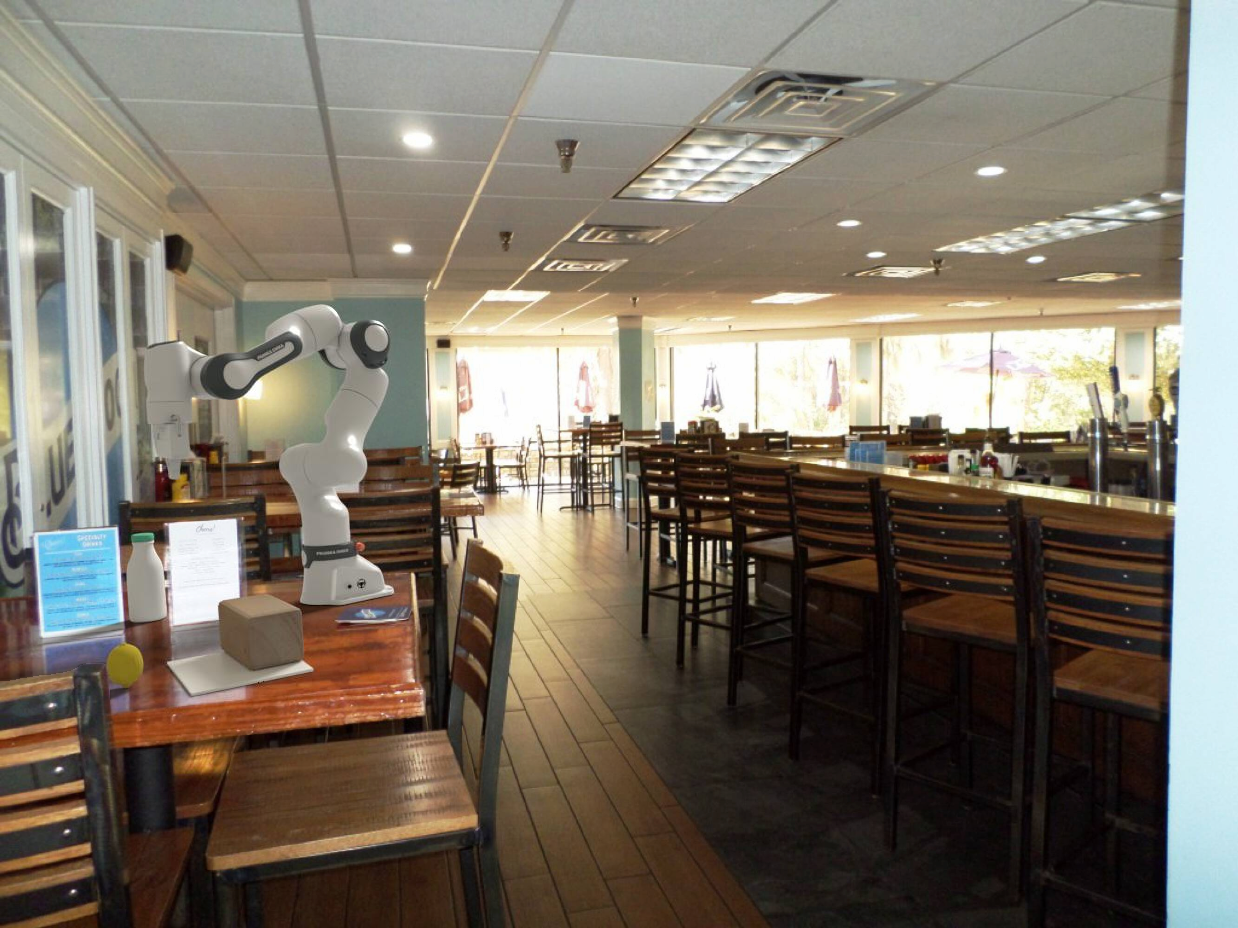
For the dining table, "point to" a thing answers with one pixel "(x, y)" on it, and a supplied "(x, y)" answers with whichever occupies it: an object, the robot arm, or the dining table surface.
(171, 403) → the robot arm
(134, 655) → the lemon
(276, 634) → the wooden block
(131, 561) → the milk bottle
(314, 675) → the dining table surface
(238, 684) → the board
